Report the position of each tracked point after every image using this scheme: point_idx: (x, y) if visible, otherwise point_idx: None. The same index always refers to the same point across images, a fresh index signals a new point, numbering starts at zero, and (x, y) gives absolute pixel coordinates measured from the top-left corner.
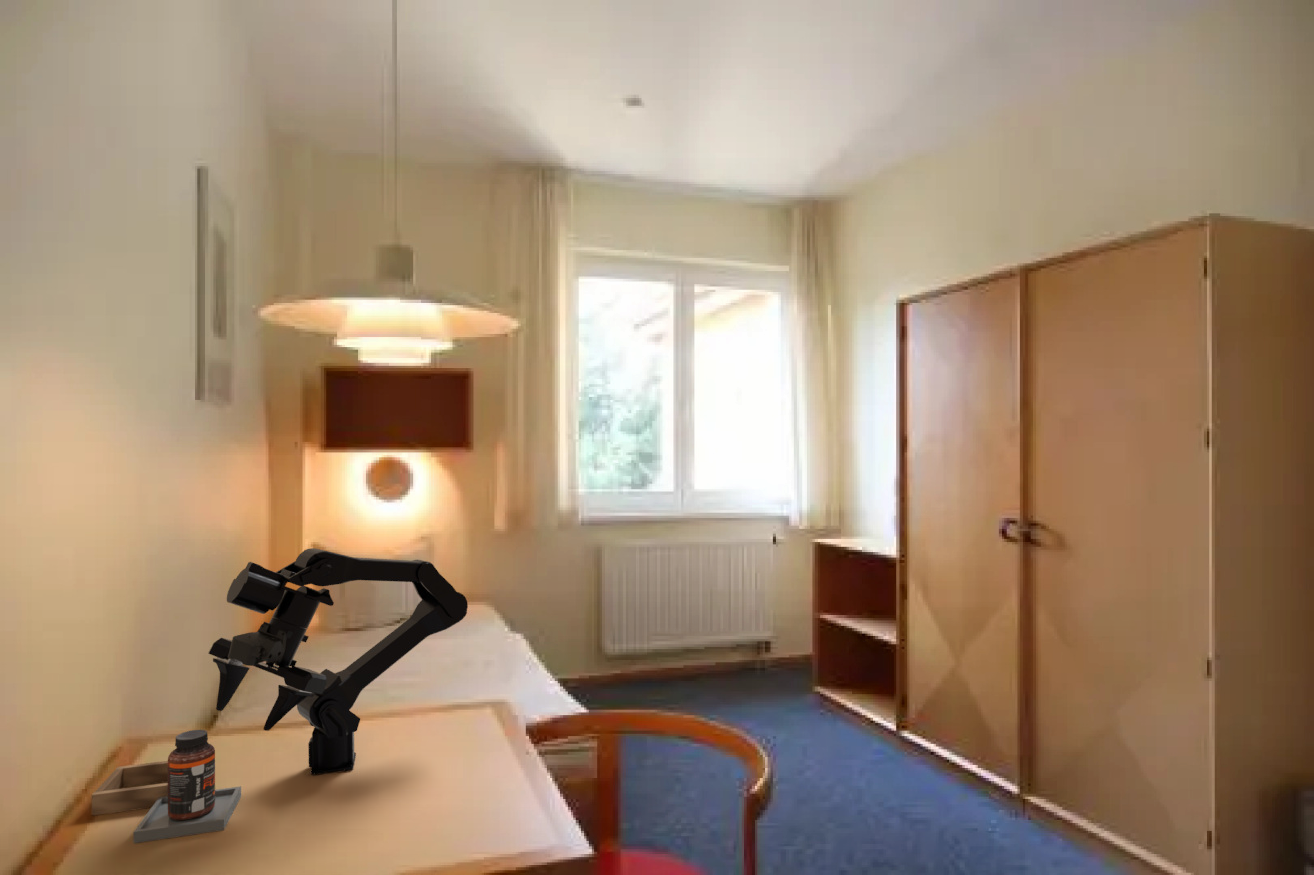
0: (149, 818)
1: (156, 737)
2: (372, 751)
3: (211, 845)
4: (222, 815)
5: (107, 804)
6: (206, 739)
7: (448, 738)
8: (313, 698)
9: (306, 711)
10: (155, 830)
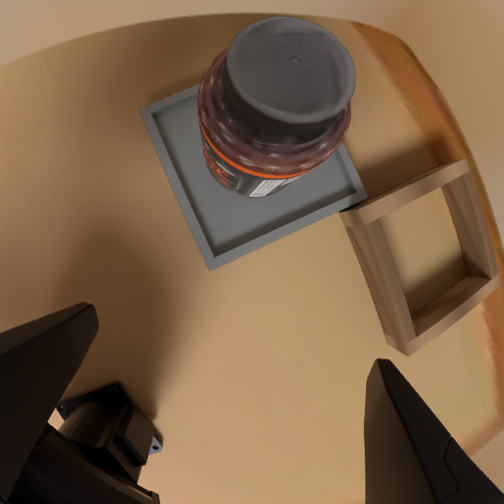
0: None
1: (495, 432)
2: None
3: (134, 69)
4: (152, 123)
5: (436, 169)
6: (226, 87)
7: None
8: (29, 492)
9: (64, 465)
10: None
